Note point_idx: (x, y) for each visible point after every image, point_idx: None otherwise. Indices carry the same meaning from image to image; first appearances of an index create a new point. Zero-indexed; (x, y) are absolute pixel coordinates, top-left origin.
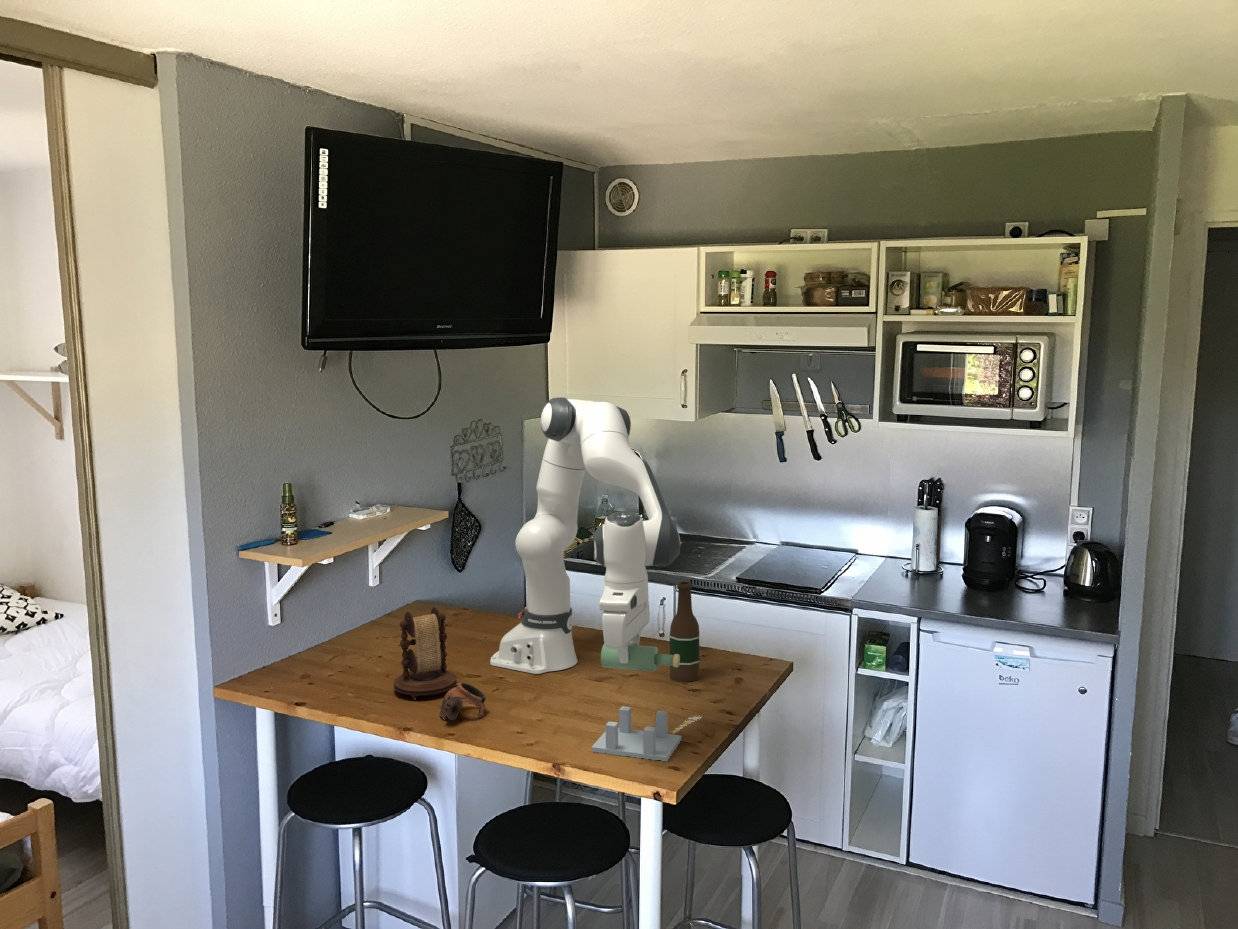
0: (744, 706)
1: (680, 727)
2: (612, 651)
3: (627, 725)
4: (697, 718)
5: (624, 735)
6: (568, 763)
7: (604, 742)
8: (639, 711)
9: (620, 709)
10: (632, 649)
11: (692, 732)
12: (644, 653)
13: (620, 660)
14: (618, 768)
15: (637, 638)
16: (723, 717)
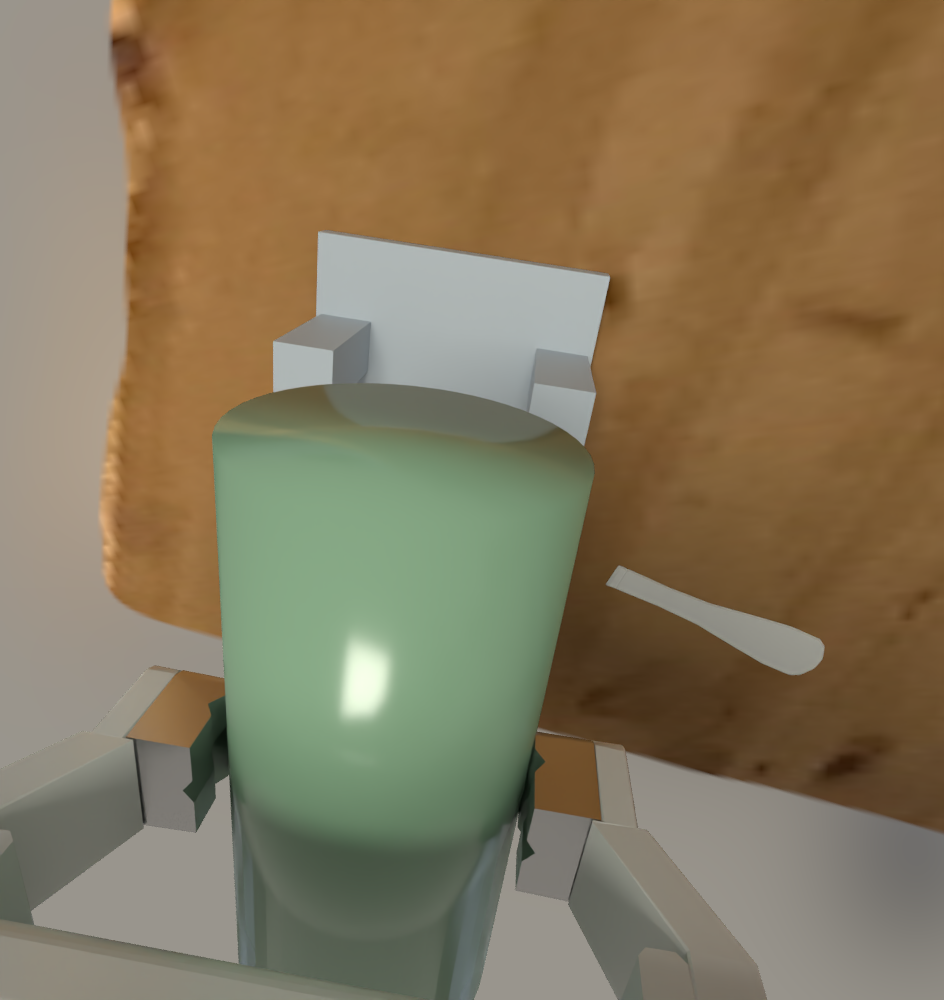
0: (913, 813)
1: (670, 603)
2: (226, 628)
3: (527, 406)
4: (778, 661)
5: (498, 381)
6: (161, 130)
7: (391, 291)
8: (901, 397)
9: (535, 392)
10: (259, 881)
11: (624, 646)
12: (241, 951)
13: (138, 687)
14: (200, 395)
15: (614, 977)
16: (792, 746)
